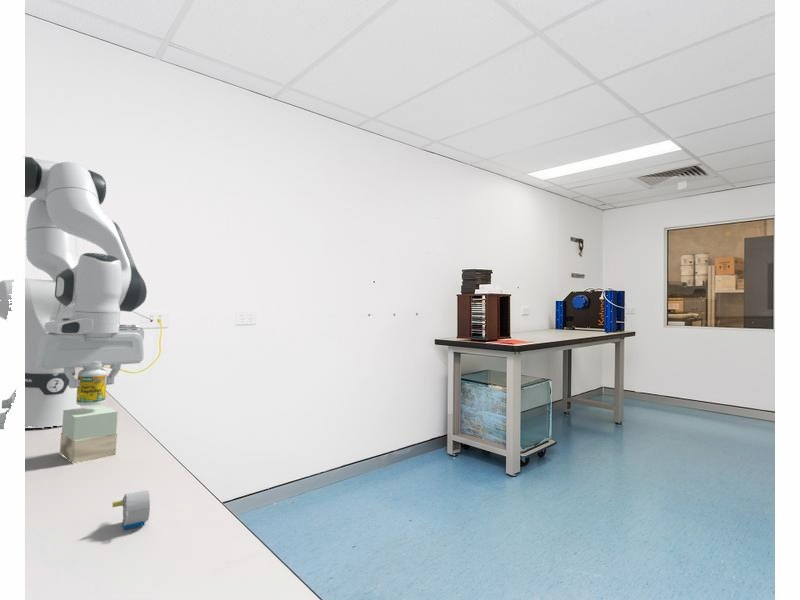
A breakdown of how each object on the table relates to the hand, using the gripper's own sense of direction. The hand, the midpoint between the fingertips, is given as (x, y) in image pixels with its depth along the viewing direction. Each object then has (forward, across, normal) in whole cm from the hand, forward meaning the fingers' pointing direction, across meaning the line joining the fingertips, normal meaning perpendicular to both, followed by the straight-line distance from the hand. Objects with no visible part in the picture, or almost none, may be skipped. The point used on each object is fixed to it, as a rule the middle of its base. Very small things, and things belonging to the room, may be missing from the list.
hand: (91, 385), depth 98 cm
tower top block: (+11, 0, 0) cm, 11 cm away
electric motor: (+16, +8, +39) cm, 43 cm away
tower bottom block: (+16, 0, 0) cm, 16 cm away
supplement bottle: (+4, 0, 0) cm, 4 cm away
